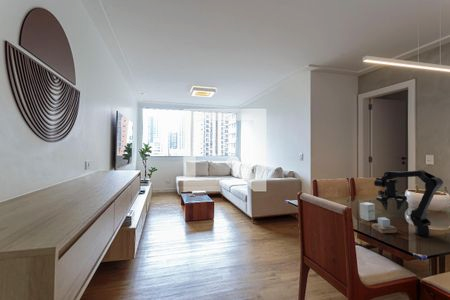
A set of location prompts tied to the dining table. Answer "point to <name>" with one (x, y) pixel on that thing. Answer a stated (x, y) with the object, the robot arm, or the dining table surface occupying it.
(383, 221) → the slate block
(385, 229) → the tan flat block
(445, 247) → the dining table surface
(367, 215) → the supplement box
